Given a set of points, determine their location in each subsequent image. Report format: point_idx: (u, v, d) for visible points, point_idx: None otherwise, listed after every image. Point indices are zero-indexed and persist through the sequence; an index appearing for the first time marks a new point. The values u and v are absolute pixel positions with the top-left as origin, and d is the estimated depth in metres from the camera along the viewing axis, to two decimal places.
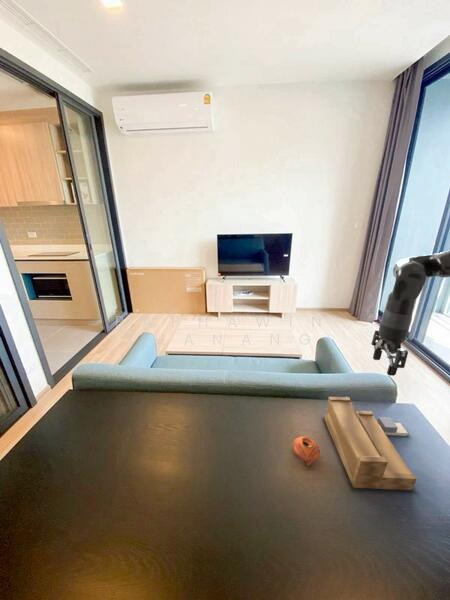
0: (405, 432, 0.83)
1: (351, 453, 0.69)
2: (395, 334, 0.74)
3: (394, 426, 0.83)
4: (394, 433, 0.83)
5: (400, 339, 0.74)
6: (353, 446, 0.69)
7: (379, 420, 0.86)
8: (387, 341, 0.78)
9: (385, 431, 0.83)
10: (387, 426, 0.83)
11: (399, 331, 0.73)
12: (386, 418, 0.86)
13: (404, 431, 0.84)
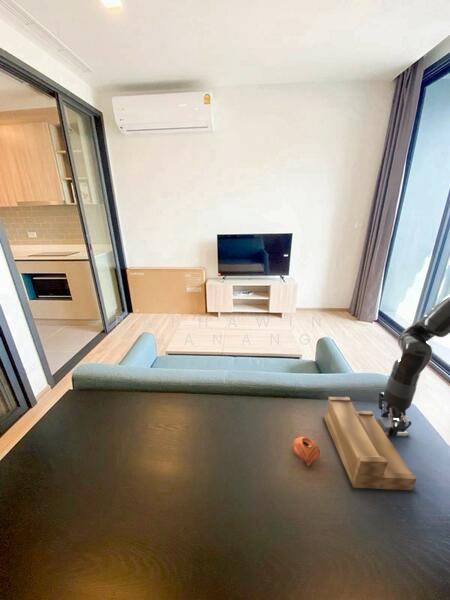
0: (405, 432, 0.83)
1: (351, 453, 0.69)
2: (400, 402, 0.77)
3: None
4: None
5: (405, 407, 0.77)
6: (353, 446, 0.69)
7: (379, 420, 0.86)
8: (392, 405, 0.81)
9: (385, 431, 0.83)
10: (387, 426, 0.83)
11: (404, 400, 0.76)
12: (386, 418, 0.86)
13: None
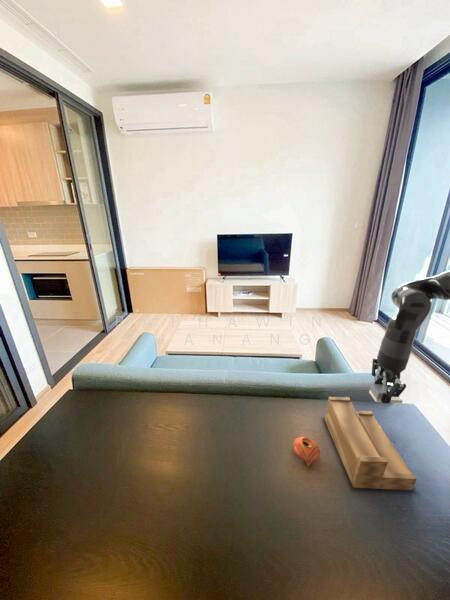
0: (399, 399, 0.77)
1: (351, 453, 0.69)
2: (395, 363, 0.70)
3: None
4: None
5: (399, 369, 0.71)
6: (353, 446, 0.69)
7: (372, 387, 0.79)
8: (386, 369, 0.75)
9: (378, 398, 0.76)
10: (380, 392, 0.76)
11: (399, 360, 0.70)
12: (379, 385, 0.79)
13: (398, 398, 0.77)
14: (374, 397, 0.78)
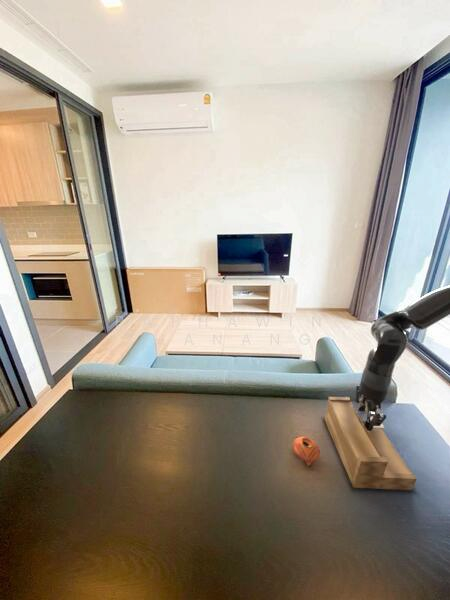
0: (382, 426, 0.79)
1: (351, 453, 0.69)
2: (375, 394, 0.73)
3: None
4: None
5: (380, 399, 0.73)
6: (353, 446, 0.69)
7: None
8: None
9: None
10: (363, 420, 0.78)
11: (378, 392, 0.72)
12: (363, 412, 0.82)
13: (381, 425, 0.79)
14: None
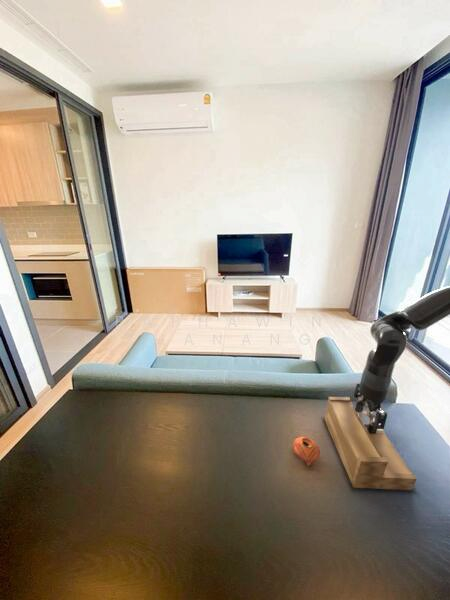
0: (381, 429, 0.80)
1: (351, 453, 0.69)
2: (375, 395, 0.73)
3: None
4: None
5: (380, 400, 0.73)
6: (353, 446, 0.69)
7: None
8: (367, 398, 0.77)
9: None
10: None
11: (378, 392, 0.72)
12: (362, 415, 0.82)
13: None
14: None
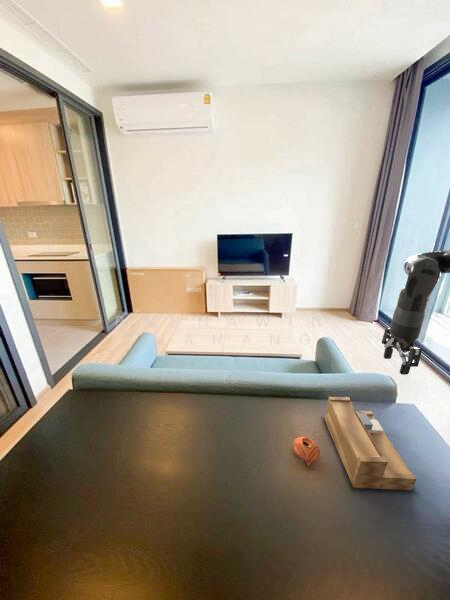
0: (381, 429, 0.80)
1: (351, 453, 0.69)
2: (408, 332, 0.72)
3: (369, 423, 0.79)
4: (369, 430, 0.79)
5: (413, 337, 0.72)
6: (353, 446, 0.69)
7: None
8: (399, 339, 0.76)
9: None
10: None
11: (412, 329, 0.71)
12: (362, 415, 0.82)
13: (380, 428, 0.80)
14: None
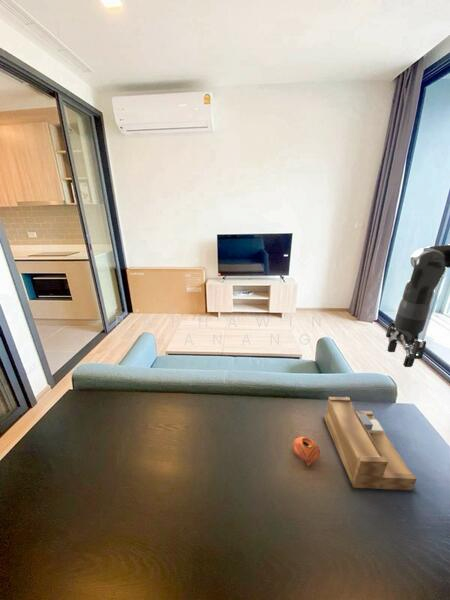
0: (381, 429, 0.80)
1: (351, 453, 0.69)
2: (413, 324, 0.73)
3: (369, 423, 0.79)
4: (369, 430, 0.79)
5: (418, 330, 0.73)
6: (353, 446, 0.69)
7: None
8: (403, 332, 0.77)
9: None
10: None
11: (417, 321, 0.72)
12: (362, 415, 0.82)
13: (380, 428, 0.80)
14: None
